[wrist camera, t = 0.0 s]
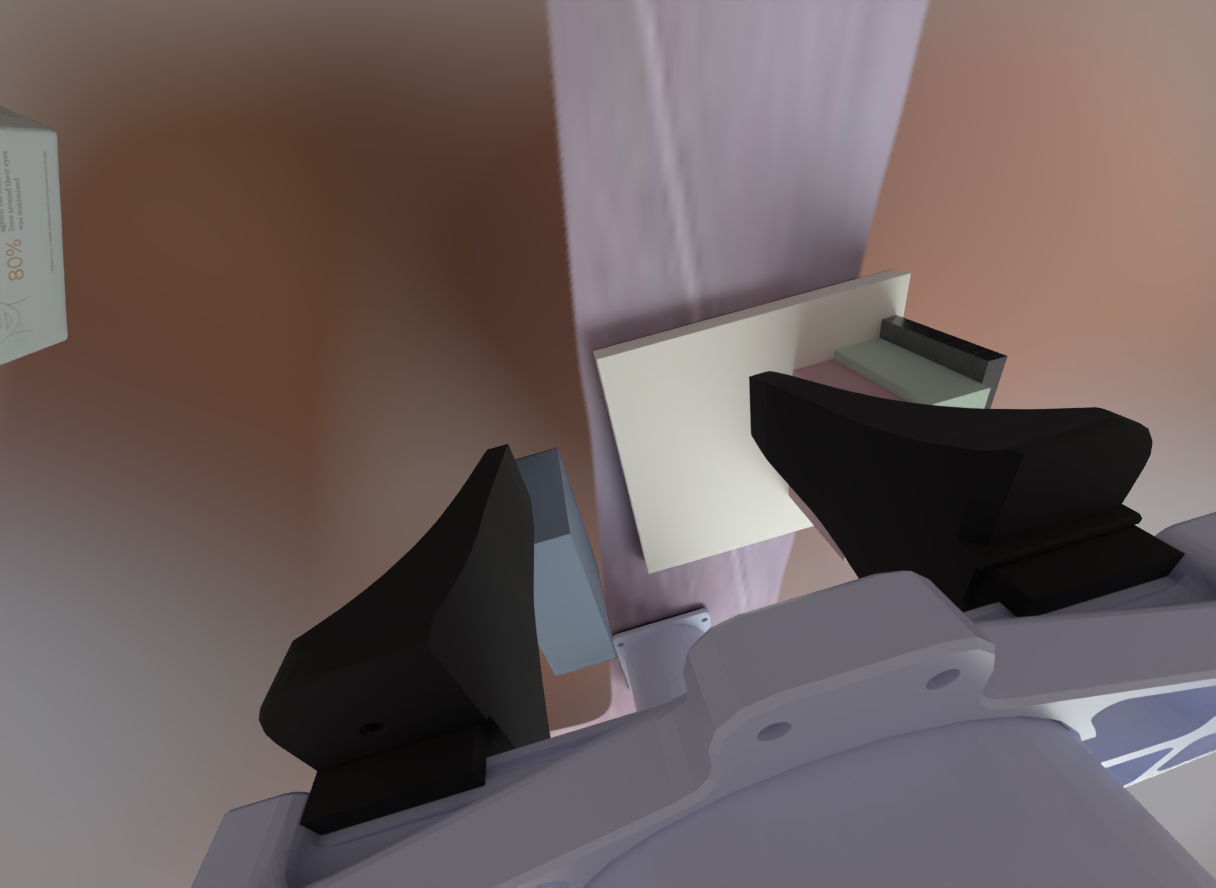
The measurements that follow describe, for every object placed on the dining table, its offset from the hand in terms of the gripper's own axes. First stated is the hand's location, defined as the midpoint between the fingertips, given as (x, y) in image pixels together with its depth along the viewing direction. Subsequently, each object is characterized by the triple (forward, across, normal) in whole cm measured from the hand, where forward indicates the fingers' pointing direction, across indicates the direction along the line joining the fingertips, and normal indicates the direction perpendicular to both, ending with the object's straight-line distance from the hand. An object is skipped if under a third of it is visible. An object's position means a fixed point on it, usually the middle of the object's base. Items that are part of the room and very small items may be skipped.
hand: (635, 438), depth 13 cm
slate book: (+10, +5, +11) cm, 16 cm away
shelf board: (+10, -8, +9) cm, 16 cm away
